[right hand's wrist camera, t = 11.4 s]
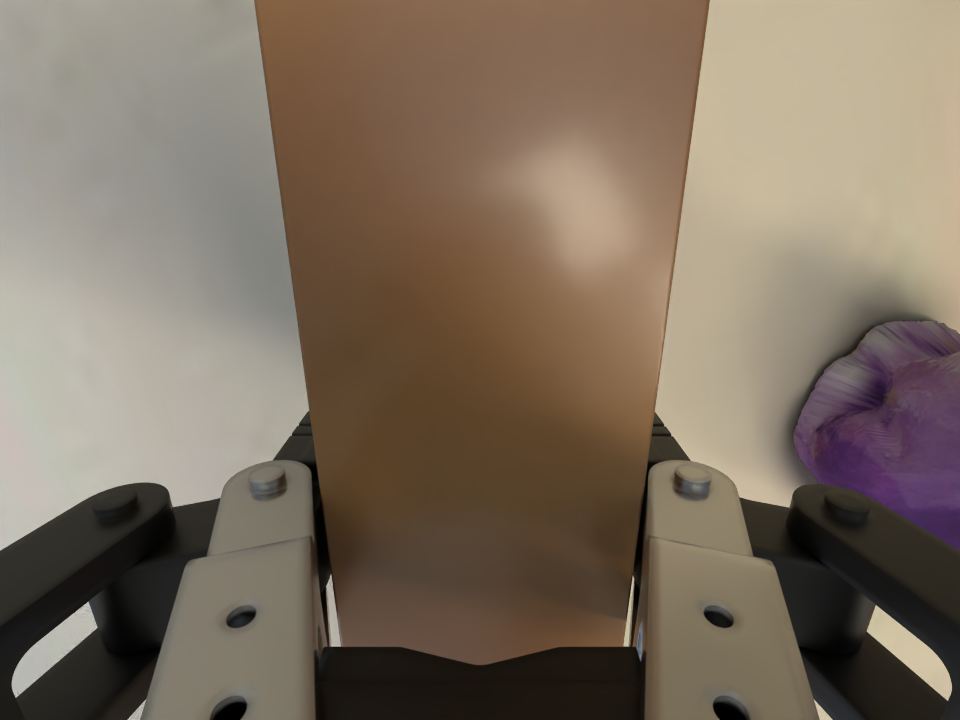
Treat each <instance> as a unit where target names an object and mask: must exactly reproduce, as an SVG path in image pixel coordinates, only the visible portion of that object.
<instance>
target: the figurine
mask: <svg viewBox="0 0 960 720" xmlns="http://www.w3.org/2000/svg"><path fill="white" fill-rule="evenodd" d="M793 439H794V444H795V450H796V452H797V455H798V456H799V458H800V459H801V461H802V462H803V463H804V464H805V466H806V467H807V468H808V469H809V470H810V471H811V472H812V474H813V475H814V476H815V478H816V480H817V481H818V482H819V483H820V484H826V485H833V486H838V487H842V488H846V489H850V490H853V491H856V492H858V493H861V494H863V495H866V496H868V497H870V498H872V499H874V500H876V501H877V502H879V503H881V504H883V505H884V506H886V507H888V508H889V509H891V510H893V511H894V512H896V513H898V514H899V515H901V516H903V517H904V518H906V519H908V520H909V521H911V522H913V523H914V524H916V525H918V526H919V527H921V528H923V529H924V530H926V531H928V532H929V533H931V534H932V535H934V536H936V537H937V538H939V539H941V540H942V541H944V542H946V543H947V544H949V545H951V546H952V547H954V548H956V549H957V550H959V551H960V334H959V333H958V332H957V331H956V330H953V329H951V328H948V327H947V326H946V325H945V324H944V323H938V322H937V321H923V322H920V321H917V322H914V321H911V322H909V321H905V322H903V321H898V322H897V321H893V322H886V323H884V324H883V325H878V326H876V327H874V328H873V329H872V330H870V331H869V332H868V333H866V335H865V337H864V338H863V340H862V341H861V342H860V343H859V344H858V346H857V348H856V349H855V350H854V351H853V352H852V353H851V354H849V355H847V356H845V357H841V358H839V359H837V360H836V361H834V362H833V363H832V364H831V365H830V366H829V367H827V368H826V369H825V370H824V374H823V375H822V376H821V377H820V378H819V379H818V381H817V383H816V384H815V389H814V390H813V391H812V392H811V393H810V396H809V398H808V400H807V402H806V403H805V405H804V407H803V409H802V411H801V415H800V417H799V419H798V425H796V427H795V430H794V433H793Z"/></svg>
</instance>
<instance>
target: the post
mask: <svg viewBox="0 0 960 720" xmlns="http://www.w3.org/2000/svg"><path fill="white" fill-rule="evenodd" d="M254 2H255V9H256V17H257V24H258V32H259V39H260V47H261V54H262V62H263V69H264V76H265V84H266V91H267V99H268V106H269V114H270V121H271V128H272V136H273V143H274V151H275V158H276V166H277V173H278V180H279V188H280V195H281V203H282V210H283V218H284V225H285V233H286V240H287V247H288V255H289V262H290V270H291V277H292V285H293V292H294V299H295V307H296V314H297V322H298V329H299V337H300V344H301V352H302V359H303V366H304V374H305V381H306V389H307V396H308V404H309V411H310V418H311V426H312V433H313V441H314V448H315V456H316V463H317V471H318V478H319V485H320V493H321V500H322V508H323V515H324V523H325V530H326V537H327V545H328V552H329V560H330V567H331V575H332V582H333V590H334V597H335V604H336V612H337V619H338V627H339V634H340V642H341V647H404V648H408V649H412V650H416V651H420V652H424V653H428V654H432V655H436V656H440V657H444V658H449V659H453V660H457V661H461V662H465V663H469V664H474V665H486V664H491V663H495V662H499V661H503V660H507V659H511V658H516V657H520V656H524V655H528V654H532V653H536V652H540V651H544V650H548V649H552V648H556V647H623V643H624V636H625V628H626V621H627V613H628V606H629V598H630V591H631V584H632V576H633V569H634V561H635V554H636V546H637V539H638V531H639V524H640V516H641V509H642V502H643V494H644V487H645V479H646V472H647V464H648V457H649V449H650V442H651V434H652V427H653V420H654V412H655V405H656V397H657V390H658V382H659V375H660V367H661V360H662V352H663V345H664V338H665V330H666V323H667V315H668V308H669V300H670V293H671V285H672V278H673V270H674V263H675V256H676V248H677V241H678V233H679V226H680V218H681V211H682V203H683V196H684V188H685V181H686V174H687V166H688V159H689V151H690V144H691V136H692V129H693V121H694V114H695V106H696V99H697V92H698V84H699V77H700V69H701V62H702V54H703V47H704V39H705V32H706V24H707V17H708V10H709V2H710V0H254Z"/></svg>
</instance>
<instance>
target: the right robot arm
mask: <svg viewBox="0 0 960 720" xmlns="http://www.w3.org/2000/svg"><path fill="white" fill-rule="evenodd" d="M330 575H331V567H330V560H329V552H328V545H327V537H326V530H325V523H324V515H323V508H322V500H321V493H320V485H319V478H318V471H317V463H316V456H315V448H314V441H313V433H312V426H311V418H310V411H308V412H307V413H306V415H305V416H304V418H303V419H302V420H301V422H300V423H299V426H297V427H296V429H295V430H294V432H293V433H292V436H290V437H289V438H288V440H287V441H286V443H285V444H284V445H283V447H282V448H281V450H280V451H279V452H278V454H277V455H276V457H275V458H274V459H273V461H268V462H263V463H259V464H256V465H253V466H250V467H248V468H246V469H244V470H242V471H240V472H238V473H237V474H235V475H234V476H233V477H231V478H230V479H229V480H228V481H227V483H226V484H225V485H224V488H223V491H222V495H221V498H219V499H214V500H210V501H205V502H199V503H194V504H189V505H183V506H178V507H172V503H171V499H170V495H169V492H168V490H167V489H166V488H165V487H164V486H162V485H159V484H156V483H133V484H127V485H123V486H118V487H115V488H112V489H108V490H106V491H103V492H100V493H98V494H96V495H94V496H92V497H90V498H88V499H86V500H84V501H82V502H81V503H79V504H77V505H76V506H74V507H72V508H71V509H69V510H67V511H66V512H64V513H62V514H61V515H59V516H57V517H56V518H54V519H52V520H51V521H49V522H47V523H46V524H44V525H42V526H41V527H39V528H37V529H36V530H34V531H33V532H31V533H29V534H28V535H26V536H24V537H23V538H21V539H19V540H18V541H16V542H14V543H13V544H11V545H9V546H8V547H6V548H4V549H3V550H1V551H0V720H127V719H128V718H129V717H130V716H131V715H132V714H133V713H134V712H135V710H136V709H137V708H138V707H139V706H140V705H141V704H142V703H143V702H144V701H145V700H146V702H145V705H144V709H143V712H142V716H141V719H140V720H820V719H819V716H818V712H817V709H816V706H815V702H814V700H815V701H816V702H817V703H818V704H819V705H820V706H821V707H822V708H823V709H824V710H825V712H826V713H827V714H828V715H829V716H830V717H831V718H832V719H833V720H960V551H959V550H957V549H956V548H954V547H952V546H951V545H949V544H947V543H946V542H944V541H942V540H941V539H939V538H937V537H936V536H934V535H932V534H931V533H929V532H928V531H926V530H924V529H923V528H921V527H919V526H918V525H916V524H914V523H913V522H911V521H909V520H908V519H906V518H904V517H903V516H901V515H899V514H898V513H896V512H894V511H893V510H891V509H889V508H888V507H886V506H884V505H883V504H881V503H879V502H877V501H876V500H874V499H872V498H870V497H868V496H866V495H863V494H861V493H858V492H856V491H853V490H850V489H846V488H842V487H838V486H833V485H826V484H809V485H804V486H801V487H799V488H797V489H796V490H795V491H794V493H793V496H792V500H791V504H790V508H788V507H782V506H777V505H772V504H766V503H761V502H756V501H751V500H747V499H743V498H740V497H739V495H738V491H737V488H736V486H735V484H734V483H733V481H732V480H731V479H730V478H729V477H727V476H726V475H725V474H723V473H722V472H720V471H718V470H716V469H714V468H712V467H710V466H707V465H704V464H701V463H697V462H692V461H691V460H690V459H689V458H688V456H687V455H686V454H685V452H684V451H683V450H682V448H681V447H680V445H679V444H678V443H677V441H676V440H675V439H674V437H671V433H670V432H669V430H668V429H667V428H666V427H664V424H663V422H662V421H661V419H660V418H659V417H658V415H657V414H656V413H655V412H654V420H653V427H652V434H651V442H650V449H649V457H648V464H647V472H646V479H645V487H644V494H643V502H642V509H641V516H640V524H639V531H638V539H637V546H636V554H635V561H634V569H633V577H634V587H633V594H632V604H631V619H630V634H629V647H556V648H552V649H548V650H544V651H540V652H536V653H532V654H528V655H524V656H520V657H516V658H511V659H507V660H503V661H499V662H495V663H491V664H486V665H474V664H469V663H465V662H461V661H457V660H453V659H449V658H444V657H440V656H436V655H432V654H428V653H424V652H420V651H416V650H412V649H408V648H404V647H331V635H330V620H329V605H328V595H327V587H326V585H327V583H328V580H329V578H330ZM88 601H89V604H90V607H91V610H92V613H93V615H94V618H95V621H96V624H97V627H98V628H97V629H96V630H95V631H94V632H92V633H91V634H90V635H89V636H88V637H87V638H85V639H84V640H83V641H82V642H81V643H80V644H78V645H77V646H76V647H75V648H74V649H73V650H71V651H70V652H69V653H68V654H67V655H66V656H64V657H63V658H62V659H61V660H60V661H59V662H57V663H56V664H55V665H54V666H53V667H52V668H50V669H49V670H48V671H47V672H46V673H45V674H43V675H42V676H41V677H40V678H39V679H38V680H36V681H35V682H34V683H33V684H32V685H31V686H29V687H28V688H27V689H26V690H25V691H24V692H22V693H21V694H20V695H19V696H18V697H17V698H15V696H14V693H13V691H12V684H11V682H12V677H13V674H14V671H15V669H16V667H17V665H18V663H19V661H20V660H21V658H22V657H23V656H24V654H25V653H26V652H27V651H28V650H29V649H30V648H31V647H32V646H33V645H34V644H35V643H36V642H38V641H39V640H40V639H42V638H43V637H44V636H45V635H47V634H48V633H49V632H50V631H52V630H53V629H54V628H55V627H57V626H58V625H59V624H60V623H62V622H63V621H64V620H65V619H67V618H68V617H69V616H71V615H72V614H73V613H74V612H76V611H77V610H78V609H79V608H81V607H82V606H83V605H84V604H86V603H87V602H88ZM875 605H877V606H878V607H879V608H881V609H882V610H883V611H884V612H886V613H887V614H888V615H889V616H891V617H892V618H893V619H895V620H896V621H897V622H898V623H900V624H901V625H902V626H903V627H905V628H906V629H907V630H908V631H910V632H911V633H912V634H913V635H915V636H916V637H917V638H918V639H920V640H921V641H922V642H924V643H925V644H926V645H927V646H928V647H930V648H931V649H932V650H933V651H934V652H935V653H936V654H937V655H938V657H939V658H940V659H941V660H942V662H943V663H944V665H945V667H946V668H947V670H948V672H949V675H950V678H951V682H952V693H951V696H950V698H949V700H948V701H947V700H946V699H945V698H943V697H942V696H941V695H940V694H939V693H938V692H936V691H935V690H934V689H933V688H932V687H931V686H929V685H928V684H927V683H926V682H925V681H924V680H922V679H921V678H920V677H919V676H918V675H917V674H915V673H914V672H913V671H912V670H911V669H910V668H908V667H907V666H906V665H905V664H904V663H903V662H901V661H900V660H899V659H898V658H897V657H896V656H894V655H893V654H892V653H891V652H890V651H889V650H887V649H886V648H885V647H884V646H883V645H882V644H880V643H879V642H878V641H877V640H876V639H875V638H873V637H872V636H871V635H870V634H869V633H868V632H866V631H867V628H868V625H869V623H870V620H871V617H872V614H873V611H874V608H875ZM146 698H147V699H146ZM813 698H814V699H813Z"/></svg>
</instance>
